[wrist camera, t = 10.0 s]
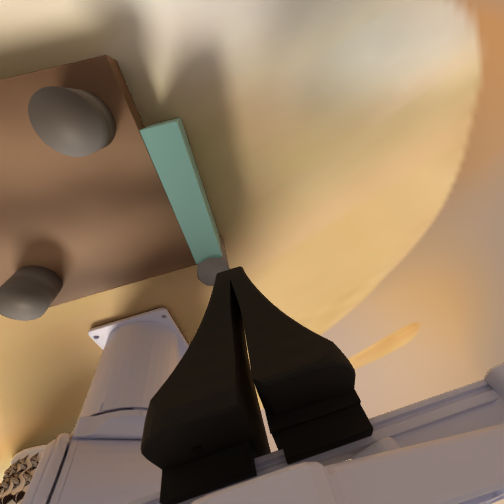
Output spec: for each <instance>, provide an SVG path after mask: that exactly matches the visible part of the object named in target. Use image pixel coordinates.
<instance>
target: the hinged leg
mask: <svg viewBox="0 0 504 504" xmlns="http://www.w3.org/2000/svg"><path fill="white" fill-rule="evenodd" d="M139 131H140V133H141V135H142V138H143V140H144V142H145V145H146V147H147V149H148V152H149V154H150V156H151V159H152V161H153V163H154V166H155V168H156V171H157V173H158V175H159V178H160V180H161V182H162V185H163V187H164V189H165V192H166V194H167V196H168V199H169V201H170V203H171V206H172V208H173V211H174V213H175V215H176V218H177V220H178V222H179V225H180V227H181V229H182V232H183V234H184V236H185V239H186V241H187V243H188V246H189V248H190V250H191V253H192V255H193V258H194V260H195V262H196V264H197V275H198V278H199V280H200V281H201V282H202V283H204V284H206V285H210V286H214V283H215V278H216V274H217V273H219V272H222V271H226V270H229V265H228V261H227V256H226V251H225V246H224V242H223V239H222V237H221V236H220V235H219V234H218V230H217V227H216V224H215V221H214V218H213V215H212V212H211V209H210V206H209V203H208V200H207V197H206V193H205V190H204V187H203V184H202V181H201V178H200V175H199V172H198V169H197V166H196V163H195V160H194V157H193V154H192V151H191V147H190V144H189V141H188V138H187V135H186V132H185V129H184V126H183V123H182V120H181V117H180V118H176V119H172V120H168V121H164V122H160V123H156V124H152V125H150V126H148V127H145V128H143V129H141V130H139Z"/></svg>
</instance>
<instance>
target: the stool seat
mask: <svg viewBox="0 0 504 504" xmlns="http://www.w3.org/2000/svg"><path fill="white" fill-rule="evenodd" d="M143 128H144V126H143V123H142V121H141V118H140V116H139V114H138V111H137V109H136V106H135V104H134V102H133V99H132V97H131V94H130V92H129V90H128V87H127V85H126V82H125V80H124V78H123V75H122V73H121V70H120V68H119V66H118V63H117V61H116V60H114V59H112V58H110V57H109V56H107V55H104V56H100V57H96V58H91V59H87V60H83V61H78V62H74V63H70V64H66V65H61V66H57V67H53V68H48V69H44V70H40V71H36V72H31V73H27V74H23V75H19V76H14V77H10V78H6V79H1V80H0V314H1V315H3V316H5V317H8V318H11V319H15V320H24V321H26V320H34V319H37V318H39V317H41V316H42V315H43V314H44V313H45V312H46V310H47V309H48V307H52V306H55V305H59V304H62V303H65V302H69V301H72V300H76V299H79V298H83V297H86V296H89V295H93V294H96V293H100V292H103V291H107V290H110V289H113V288H117V287H120V286H124V285H127V284H131V283H134V282H137V281H141V280H144V279H148V278H151V277H155V276H158V275H161V274H165V273H168V272H172V271H175V270H179V269H182V268H185V267H189V266H192V265H196V262H195V260H194V258H193V255H192V253H191V250H190V248H189V246H188V243H187V241H186V239H185V236H184V234H183V232H182V229H181V227H180V225H179V222H178V220H177V218H176V215H175V213H174V211H173V208H172V206H171V203H170V201H169V199H168V196H167V194H166V192H165V189H164V187H163V185H162V182H161V180H160V178H159V175H158V173H157V171H156V168H155V166H154V163H153V161H152V159H151V156H150V154H149V152H148V149H147V147H146V145H145V142H144V140H143V138H142V135H141V133H140V131H139V130H141V129H143Z"/></svg>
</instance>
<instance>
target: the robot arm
mask: <svg viewBox="0 0 504 504" xmlns="http://www.w3.org/2000/svg"><path fill="white" fill-rule="evenodd" d="M163 315H166V316H163ZM244 330H245V331H244ZM88 335H89V336H90V337H91V338H92V339H93V340H94V341H95V342H96V343H97V344H98V345H99V346H100V347H101V348H102V349H103V352H102V355H101V358H100V360H99V363H98V366H97V369H96V371H95V374H94V377H93V379H92V382H91V385H90V388H89V390H88V393H87V396H86V398H85V401H84V404H83V406H82V409H81V412H80V415H79V417H78V420H77V423H76V425H75V427H74V429H73V431H72V433H71V434H69V433H61V434H59V436H58V437H57V438H55V439H54V440H52V441H51V442H50V443H48V444H47V446H46V448H45V450H44V452H43V454H42V457H41V459H40V461H39V463H38V466H37V468H36V470H35V472H34V475H33V477H32V479H31V481H30V484H29V486H28V488H27V490H26V493H25V495H24V497H23V500H22V502H21V504H492V503H494V502H497V501H499V500H501V499H504V363H501V364H498V365H496V366H494V367H493V368H491V369H490V370H489V371H488V372H487V373H486V375H485V377H484V380H481V381H478V382H475V383H472V384H469V385H466V386H463V387H460V388H457V389H454V390H452V391H449V392H446V393H443V394H440V395H437V396H434V397H431V398H428V399H425V400H423V401H420V402H417V403H414V404H411V405H408V406H405V407H402V408H400V409H397V410H394V411H391V412H388V413H385V414H382V415H379V416H376V417H373V418H370V419H368V417H367V416H366V414H365V412H364V410H363V408H362V407H361V405H360V402H361V401H360V399H359V397H358V395H357V393H356V391H355V390H354V385H355V370H354V368H353V366H352V365H351V363H350V362H349V360H348V359H347V358H346V356H345V355H344V354H343V353H342V352H341V350H340V349H339V348H338V347H337V346H336V345H335V344H334V343H333V342H332V341H330V340H328V339H326V338H324V337H322V336H320V335H318V334H316V333H314V332H312V331H311V330H309V329H307V328H306V327H304V326H302V325H301V324H299V323H298V322H296V321H295V320H293V319H292V318H290V317H289V316H287V315H286V314H285V313H283V312H282V311H281V310H279V309H278V308H277V307H276V306H274V305H273V304H272V303H271V302H270V301H269V300H268V299H267V298H266V297H265V296H264V295H263V294H262V293H261V292H260V291H259V290H258V289H257V288H256V287H255V286H254V284H253V283H252V282H251V281H250V279H249V278H248V277H247V275H246V273H245V272H244V270H243V267H240V266H239V267H236V268H233V269H229V270H226V271H222V272H219V273H217V274H216V278H215V283H214V287H213V291H212V295H211V298H210V301H209V304H208V307H207V309H206V312H205V315H204V317H203V320H202V322H201V324H200V326H199V328H198V330H197V333H196V335H195V336H194V338H193V340H192V342H191V344H190V345H188V343H187V342H186V340H185V338H184V337H183V335H182V333H181V332H180V330H179V329H178V327H177V325H176V324H175V322H174V320H173V319H172V317H171V315H170V314H169V312H168V310H167V309H166V308H158V309H155V310H151V311H148V312H145V313H141V314H138V315H135V316H131V317H128V318H125V319H121V320H118V321H115V322H111V323H108V324H105V325H101V326H98V327H95V328H91V329H90V330H89V332H88ZM96 335H97V336H96ZM245 335H246V338H245ZM246 341H247V346H246ZM247 347H248V353H249V359H250V364H249V359H248V353H247ZM250 366H251V368H250ZM254 384H255V385H254ZM255 387H256V389H257V392H258V394H259V397H260V399H261V402H262V404H263V407H264V409H265V412H266V417H267V421H268V426H269V430H270V433H271V434H272V436H273V438H274V440H275V443H276V445H277V448H278V451H275V452H272V453H271V451H270V447H269V444H268V439H267V435H266V431H265V427H264V423H263V419H262V415H261V411H260V406H259V402H258V398H257V394H256V390H255ZM351 458H352V459H351ZM348 459H351V460H348ZM346 460H348V461H346ZM343 461H344V462H343Z"/></svg>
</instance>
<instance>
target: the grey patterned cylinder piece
mask: <svg viewBox="0 0 504 504" xmlns="http://www.w3.org/2000/svg"><path fill="white" fill-rule="evenodd" d="M46 446H47V445H38V446H34V447H30V448H26V449H24V450H22V451H20V452H18V453H16V454H15V456H14V457H13V458H12V460H11V466H10V468H8V469H7V470H6V471H5V472H4V474H5V475H4V477H3V481H2V483H1V484H0V504H21V502H22V500H23V497H24V495H25V493H26V490H27V488H28V486H29V484H30V481H31V479H32V477H33V475H34V472H35V470H36V468H37V466H38V463H39V461H40V459H41V457H42V454H43V452H44V450H45V448H46Z"/></svg>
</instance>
